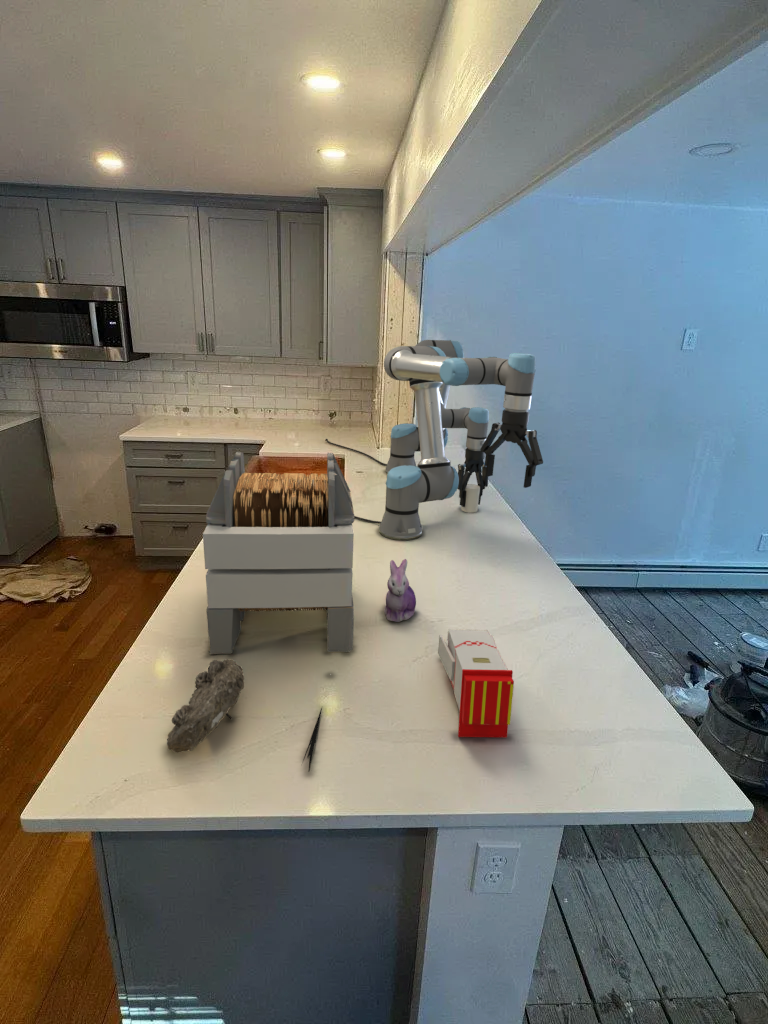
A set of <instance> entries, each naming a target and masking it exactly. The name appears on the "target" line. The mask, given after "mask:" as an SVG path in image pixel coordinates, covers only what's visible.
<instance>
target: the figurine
mask: <svg viewBox="0 0 768 1024" xmlns="http://www.w3.org/2000/svg"><path fill="white" fill-rule="evenodd" d="M407 567H408V559H406V558H404V559H403V560H402V561H401V563H400V565H399V566H398V565H397V563H396V562H395V561H394V560H393V559H391V560H390V561H389V570H390V576H389V578H388V579H387V589H388V591H387V592H386V594H385V595H386V596H385V607H384V615H385V616H386V620H387V621H391V622H395V623H400V622H402V621H406V620H409V619H410V618H411V617H413V616H414V615H415V610H416V606H417V597H416V593H415V591H414V590H413V587H411V586H410V582H409V579H408V577H407V574H406V571H407Z"/></svg>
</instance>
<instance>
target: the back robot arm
mask: <svg viewBox="0 0 768 1024" xmlns="http://www.w3.org/2000/svg"><path fill="white" fill-rule="evenodd" d="M414 346H431V347H438V348H440V349H441V350H442V351H443V352H444V354H445V355H446V357H457V358H465V354H464V348H463V345H462V343H461V342H460V341H459V340H451V339H447V340H445V339H423V340H421V341H419V342H417V344H415V345H414ZM450 389H451V385H446V384H444V382H443V384H442V385H441V386H440V388H439V396H440V407H441V417H442V427H443V438H444V448H446V446H447V443H448V439H449V437H448V436H449V431H448V429H465V430H466V431H467V432H466V442H465V447H466V448H465V452H464V458H465V460H464V463H459V464H457V470H458V471H457V473H458V477H459V484H458V488H457V490H458V493H459V495H458V498H459V506H460V507H461V506H462V507H465V502H466V492H467V491H465V489H466V486H467V484H469V482H470V481H469V480H470V478H471V476H472V475H473V474H475V478H476V483H477V484H476V485H478V486H480V493H479V502H478V506H480V505H481V501H482V496H483V495H484V493H483V491H484V490H485V489H486V488H487V487H488V486H489V477H486V476H485V475H486V466H487V465H485V457H486V454H485V453H484V452H482V451H481V450H480V449H481V447H482V445H483V444H484V442H485V440H486V438H487V437H488V428H489V421H490V411H489V409H487V408H484V407H477V406H476V407H475V406H474V407H471V408H470V407H466V406H465V407H464V406H463V407H460V408H447V405H448V399H449V394H450ZM390 432H391V433H390V446H389V447H390V448H389V450H390V451H389V458H388V460H387V463H384V462H382V461H380V460H378V459H376V458H375V457H373V456H371V455H369V454H367V453H366V452H362V451H360V450H358V449H354V448H351V447H347V446H345V445H340V444H338V443H335V442H331V441H329V440H328V438H325V441H326V443H328V444H330V445H332V446H336V447H339V448H343V449H346V450H349V451H353V452H356V453H359V454H361V455H364V456H366V457H368V458H370V459H372V460H373V461H375V462H376V463H378V464H380V465H382V466H385V473H386V474H388V472H389V471H390V470H391V469H393V468H395V467H398V466H404V465H406V466H409V465H412V466H417V463H416V459H415V452H421V451H420V441H419V431H418V426H417V425H416V424H415V423H409V422H407V423H405V422H404V423H398V424H395V425H394V426H392V427H391V431H390Z"/></svg>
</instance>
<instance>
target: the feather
mask: <svg viewBox="0 0 768 1024" xmlns="http://www.w3.org/2000/svg"><path fill="white" fill-rule="evenodd" d="M329 675H330V676H331V675H332V674H331V673H330V674H329ZM322 710H323V707H321V708H320V710H319V713H318V716H317V719H316V723H315V725H314V728H313V731H312V733H311V737H310V739H309V742H308V745H307V748H306V751H305V754H304V757H303V760H302V763H301V767H302V765H303V763H304V761H305V758H308V759H309V760H308V762H307V763H308V764H307V766H308V771H310V770H311V766H312V765H311V764H312V760H313V757H315V756H314V755H315V751H316V749H315V746H317V739H318V733H319V729H320V722H321V717H322V712H323V711H322ZM313 754H314V755H313ZM306 755H307V757H306Z"/></svg>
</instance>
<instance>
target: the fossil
mask: <svg viewBox="0 0 768 1024" xmlns="http://www.w3.org/2000/svg"><path fill="white" fill-rule="evenodd" d="M243 670H244V669H243V667H242V665H240V664H237V662H236V661H235V660H234V659H232V658H231V659H227V658H226V659H224V660H223V661H222V660H217V659H212V660H211V661H210V663H209V665H208V666H207V671H201V672H199V673H198V674H197V675H196V676H195V680H194V684H195V685H194V687H195V689H194V690H193V693H192V694H191V697H190V698H189V700H188V704H184V705H182V706H181V707H180V709H177V710H176V711H175V713H174V715H173V716H172V718H171V723H172V724H173V727H172V730H171V731H170V732H168V734H167V738H166V741H167V742H166V745H167V749H168V750H169V751H173V752H174V753H176V754H178V753H182V752H188V751H189V752H192V751H193V750H195V748H196V747H197V746H199V744H200V743H201V742H203V741H204V740H205V739H206V738H207V737H208V736H209V735H210V734H211V733H212V732H214V730H215V729H217V727H218V726H219V724H220V722H221V721H222V720H223V719H224V718H225V716H226V717H227V719H229V720H233V717H232V715H230V714H229V710H230V709H231V708H234V706H235V704H236V703H237V702H238V699H239V697H240V695H241V693H242V691H243V690H245V689H244V688H245V675H244V671H243Z"/></svg>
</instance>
